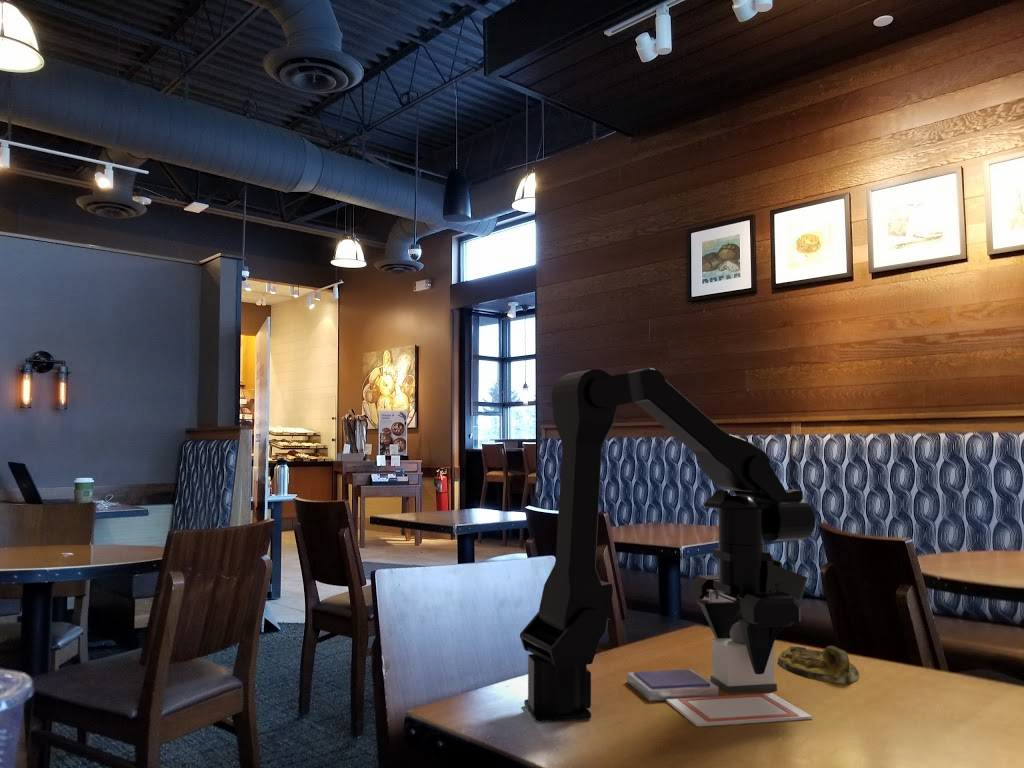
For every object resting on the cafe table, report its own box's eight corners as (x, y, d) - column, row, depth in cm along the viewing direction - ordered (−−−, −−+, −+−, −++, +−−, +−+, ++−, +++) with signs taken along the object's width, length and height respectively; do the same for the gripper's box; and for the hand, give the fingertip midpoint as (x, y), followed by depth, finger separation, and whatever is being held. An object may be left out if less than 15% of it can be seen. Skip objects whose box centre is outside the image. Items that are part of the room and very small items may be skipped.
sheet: (696, 726, 87) (696, 722, 87) (666, 701, 95) (666, 698, 95) (811, 719, 90) (811, 715, 90) (772, 695, 98) (772, 692, 98)
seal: (760, 665, 117) (820, 695, 102) (756, 633, 117) (815, 658, 103) (816, 654, 119) (883, 682, 104) (812, 623, 119) (878, 646, 105)
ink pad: (649, 701, 95) (649, 688, 96) (626, 681, 103) (626, 670, 103) (718, 697, 97) (718, 685, 97) (691, 678, 105) (691, 667, 105)
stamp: (776, 690, 101) (775, 624, 101) (727, 693, 99) (726, 626, 100) (757, 679, 105) (756, 616, 106) (710, 682, 104) (709, 618, 105)
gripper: (839, 551, 96) (842, 682, 95) (761, 534, 114) (762, 644, 113) (755, 552, 94) (757, 687, 93) (689, 535, 112) (690, 647, 111)
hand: (742, 664), depth 102 cm, fingers open, 8 cm apart
